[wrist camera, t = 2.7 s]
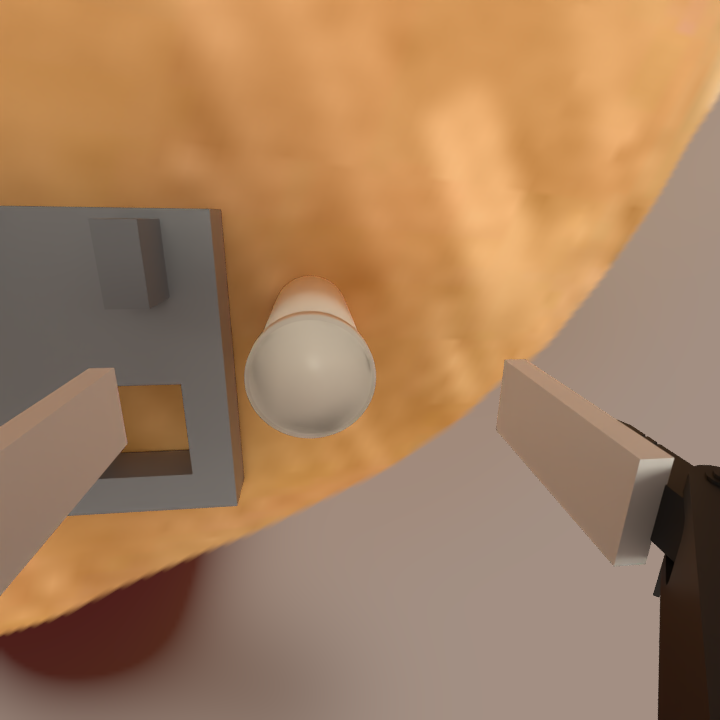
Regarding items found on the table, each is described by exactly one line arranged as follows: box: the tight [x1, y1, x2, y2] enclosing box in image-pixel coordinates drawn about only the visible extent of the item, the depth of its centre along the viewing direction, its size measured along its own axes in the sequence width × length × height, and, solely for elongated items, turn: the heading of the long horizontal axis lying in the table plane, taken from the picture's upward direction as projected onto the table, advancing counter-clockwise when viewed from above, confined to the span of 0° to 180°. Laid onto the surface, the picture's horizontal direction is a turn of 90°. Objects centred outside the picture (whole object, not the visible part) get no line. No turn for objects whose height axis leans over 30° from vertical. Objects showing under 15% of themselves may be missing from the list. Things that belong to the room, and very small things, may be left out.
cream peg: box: [244, 276, 376, 438], centre depth 21 cm, size 5×5×12 cm
